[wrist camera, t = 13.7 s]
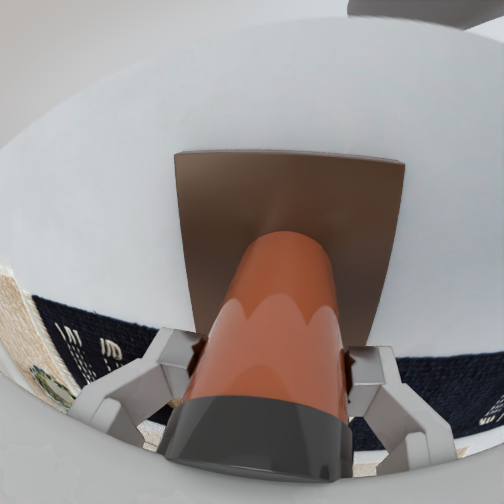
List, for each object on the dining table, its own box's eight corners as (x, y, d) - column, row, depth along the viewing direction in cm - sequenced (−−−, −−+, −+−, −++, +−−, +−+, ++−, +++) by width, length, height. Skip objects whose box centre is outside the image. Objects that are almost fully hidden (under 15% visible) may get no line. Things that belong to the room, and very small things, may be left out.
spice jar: (234, 225, 13) (119, 435, 4) (340, 231, 12) (386, 470, 3) (238, 309, 15) (176, 493, 6) (327, 316, 14) (328, 512, 5)
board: (182, 151, 12) (173, 154, 12) (398, 160, 11) (405, 164, 10) (202, 331, 17) (197, 342, 16) (360, 344, 16) (362, 355, 15)
